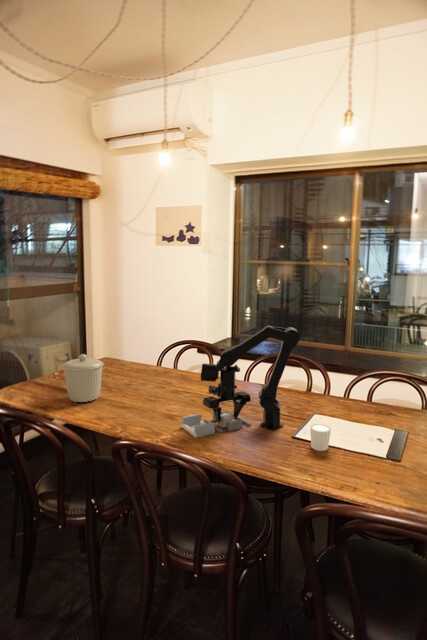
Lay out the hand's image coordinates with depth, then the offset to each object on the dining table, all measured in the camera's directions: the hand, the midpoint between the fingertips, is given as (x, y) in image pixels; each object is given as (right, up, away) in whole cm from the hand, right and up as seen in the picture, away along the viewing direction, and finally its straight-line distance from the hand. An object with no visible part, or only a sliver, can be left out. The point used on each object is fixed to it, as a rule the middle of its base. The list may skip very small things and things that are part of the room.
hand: (226, 420), depth 165 cm
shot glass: (+31, -5, -20) cm, 37 cm away
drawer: (-11, -2, -6) cm, 13 cm away
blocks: (0, -1, 0) cm, 1 cm away
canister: (-64, +3, +28) cm, 70 cm away
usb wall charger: (0, -2, 0) cm, 2 cm away
